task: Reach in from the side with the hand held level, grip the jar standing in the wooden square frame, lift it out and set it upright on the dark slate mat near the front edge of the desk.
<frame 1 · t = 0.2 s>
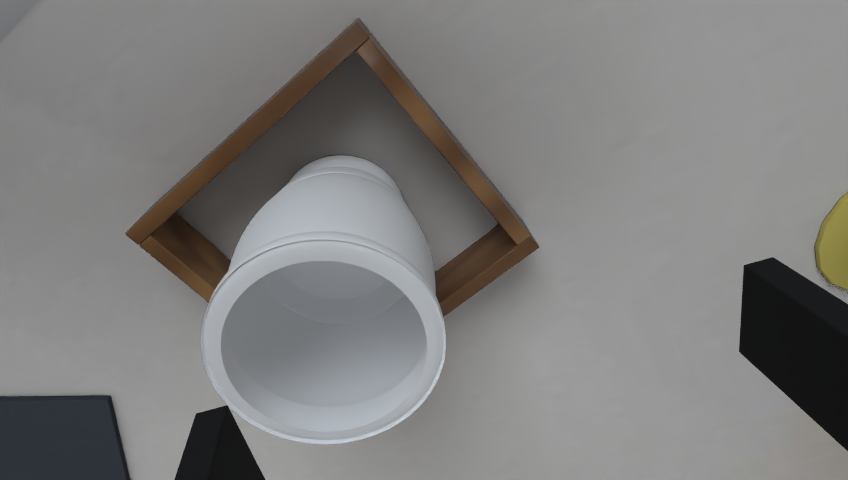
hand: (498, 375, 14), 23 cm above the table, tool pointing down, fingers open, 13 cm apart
jar: (343, 214, 37), resting in wooden square frame
wooden square frame: (343, 215, 36), on the table
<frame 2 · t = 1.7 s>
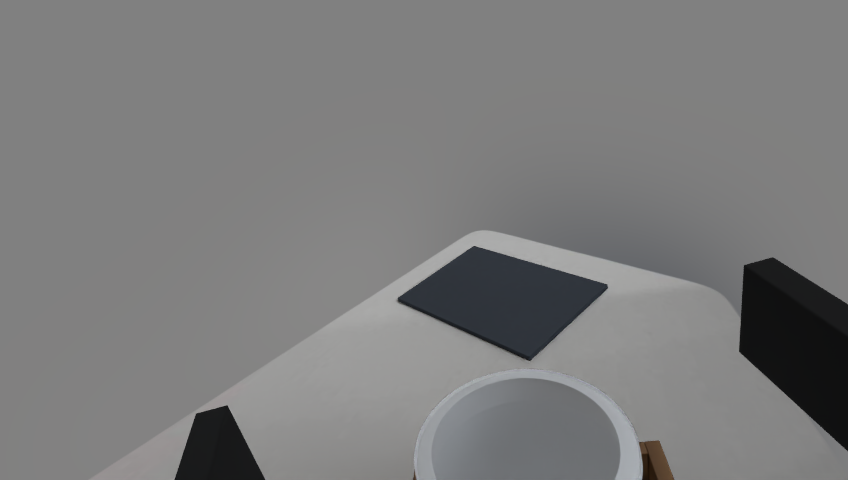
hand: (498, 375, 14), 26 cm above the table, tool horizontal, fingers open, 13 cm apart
mat: (497, 295, 63), on the table
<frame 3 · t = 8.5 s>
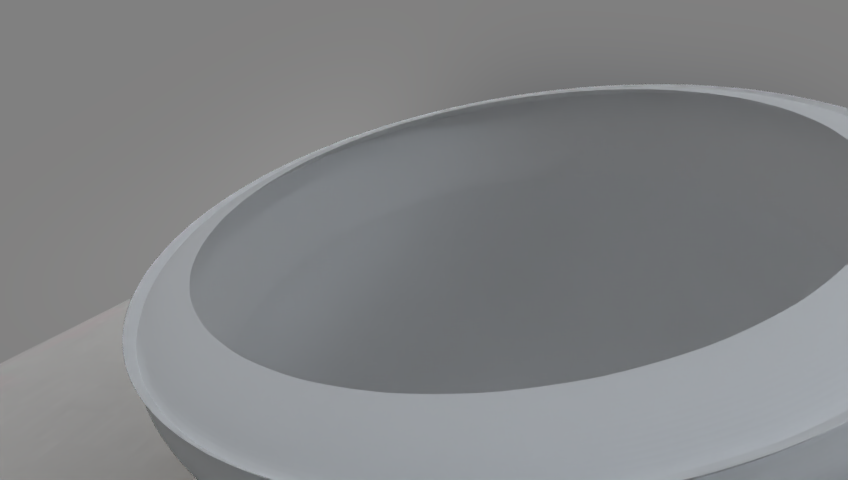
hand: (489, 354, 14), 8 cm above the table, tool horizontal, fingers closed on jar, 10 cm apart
when the fingers open (9 cm above the table, at t = 18.6 s): jar stays where it is, resting on mat.
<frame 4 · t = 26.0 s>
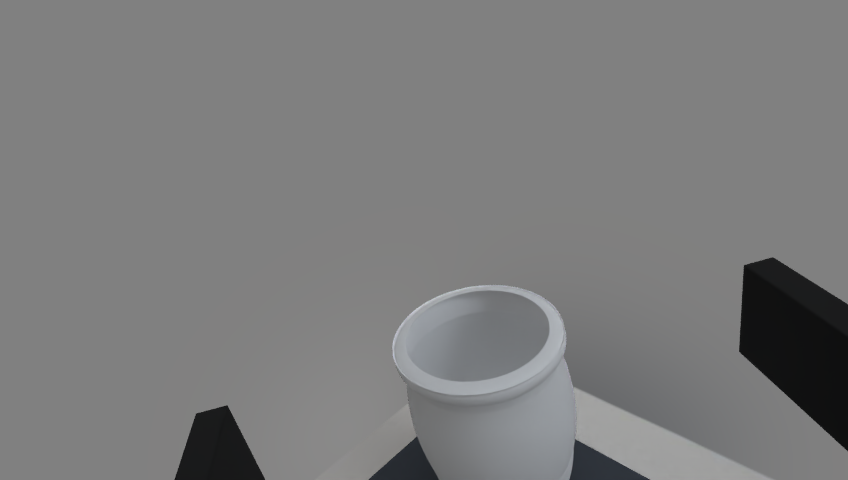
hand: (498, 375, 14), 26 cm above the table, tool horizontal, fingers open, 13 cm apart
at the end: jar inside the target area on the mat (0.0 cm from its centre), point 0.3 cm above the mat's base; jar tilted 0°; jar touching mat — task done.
